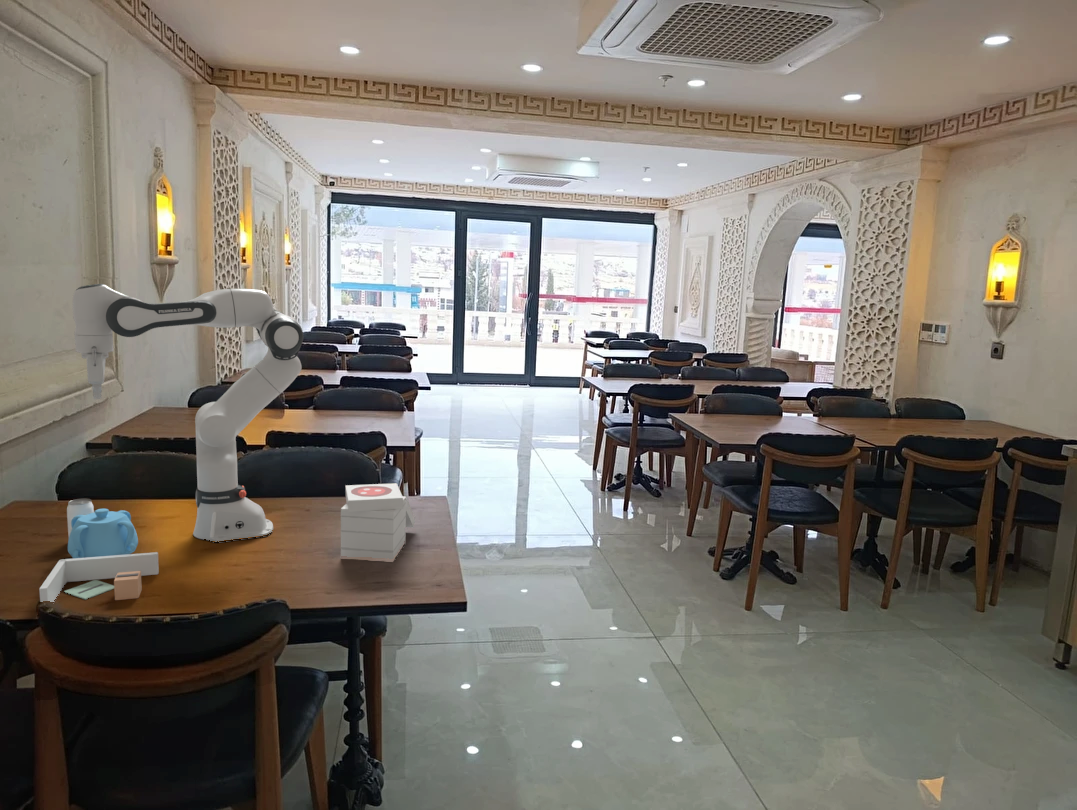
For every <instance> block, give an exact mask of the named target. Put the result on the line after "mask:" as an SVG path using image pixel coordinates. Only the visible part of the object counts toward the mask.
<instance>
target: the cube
mask: <svg viewBox="0 0 1077 810" xmlns="http://www.w3.org/2000/svg"><path fill="white" fill-rule="evenodd" d="M113 585H114V589H113V590H114V591H113V592H114V600H115V601H121V600H122V601H123V600H131V599H132V600H133V599H139V597H140V595H141V594H142V593H141V592H142V590H143V589H142V588H143V587H142V586H143V585H142V576H141V571H132V572H120V573H117V575H116V577H115V578H114V580H113Z"/></svg>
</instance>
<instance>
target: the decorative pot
mask: <svg viewBox="0 0 1077 810" xmlns="http://www.w3.org/2000/svg"><path fill="white" fill-rule="evenodd" d="M131 520H132V516H131V513H130V512H129V511H127V510H125V509H124V510H122V509H120V510H118V511H112V510H111V511H110V510H109V509H108V508H98V509H96V510H94V513H90V514H87V515H77V516H75V517H74V518H73V519H72V521H71V526H72V531H71V533H70V536H69V535H68V542H67V552H68V554H69V555H70V556H71V557H72V559H73V558H87V557H100V556H113V555H126V554H133V553H134V552H135V551H136V549H137V547H138V545H139V538H138V534H137V530H136V529H135V526H134V524H133V523H132V521H131Z"/></svg>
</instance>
